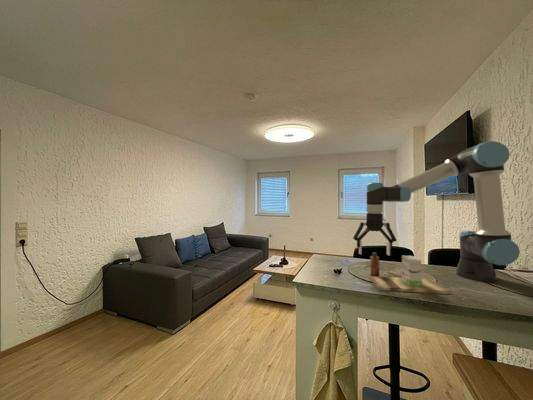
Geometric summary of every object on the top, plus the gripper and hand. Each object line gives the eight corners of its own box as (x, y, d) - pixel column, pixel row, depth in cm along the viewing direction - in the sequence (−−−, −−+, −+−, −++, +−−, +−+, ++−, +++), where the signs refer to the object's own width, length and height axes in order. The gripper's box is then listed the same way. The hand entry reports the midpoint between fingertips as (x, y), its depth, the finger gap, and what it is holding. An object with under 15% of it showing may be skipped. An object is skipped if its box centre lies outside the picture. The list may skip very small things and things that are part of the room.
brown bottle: (377, 275, 117) (377, 252, 118) (380, 277, 114) (380, 253, 114) (369, 274, 118) (369, 251, 118) (372, 277, 114) (371, 253, 114)
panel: (431, 281, 108) (431, 278, 108) (450, 293, 94) (450, 290, 94) (369, 278, 112) (369, 275, 112) (378, 290, 98) (378, 287, 98)
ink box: (422, 287, 98) (422, 260, 98) (409, 286, 99) (409, 259, 99) (412, 280, 106) (412, 255, 106) (401, 279, 107) (401, 254, 107)
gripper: (397, 213, 118) (397, 253, 118) (347, 212, 122) (347, 251, 122) (404, 213, 110) (403, 257, 110) (350, 212, 114) (350, 254, 114)
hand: (374, 254), depth 116 cm, fingers open, 13 cm apart
